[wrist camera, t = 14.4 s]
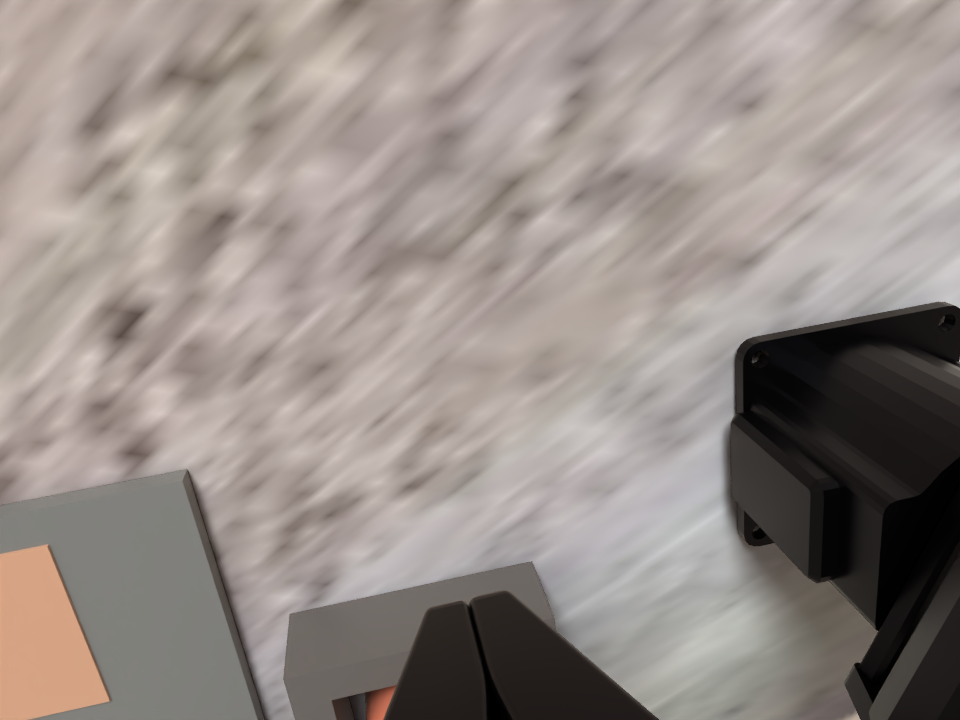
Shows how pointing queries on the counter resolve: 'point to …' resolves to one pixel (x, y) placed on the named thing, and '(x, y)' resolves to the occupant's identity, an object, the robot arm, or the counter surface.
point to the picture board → (117, 609)
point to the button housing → (379, 638)
